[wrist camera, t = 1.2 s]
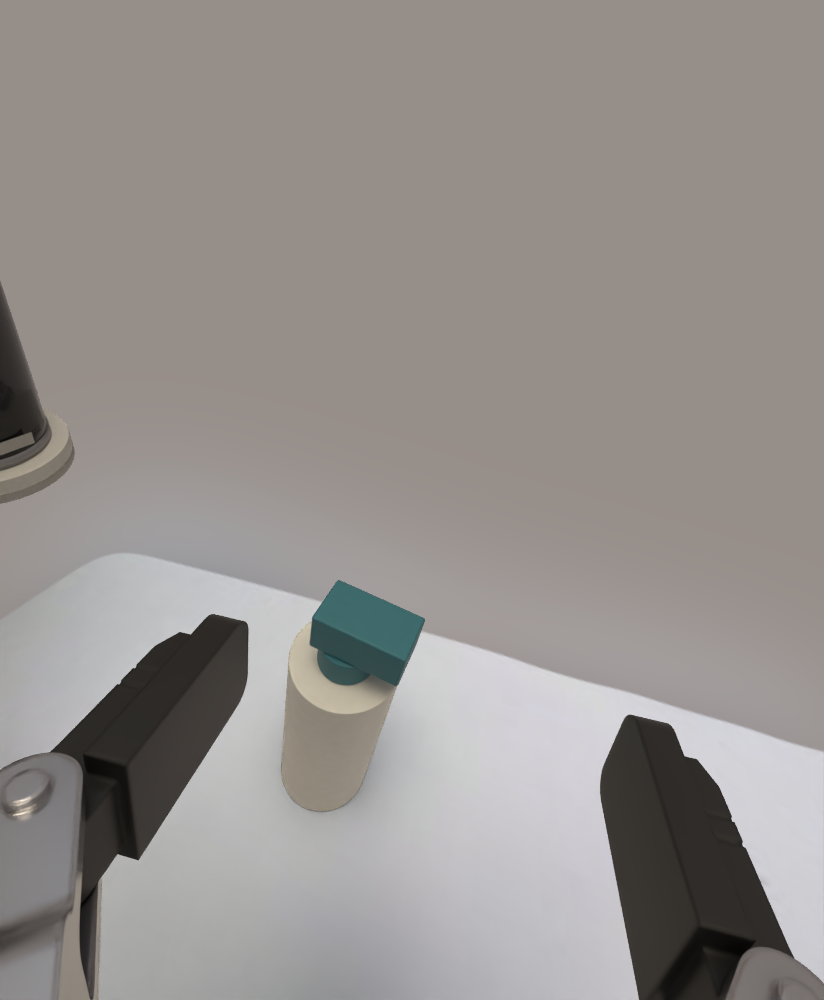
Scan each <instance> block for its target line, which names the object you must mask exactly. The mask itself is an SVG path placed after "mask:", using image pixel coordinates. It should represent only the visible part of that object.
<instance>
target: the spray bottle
mask: <svg viewBox="0 0 824 1000" xmlns="http://www.w3.org/2000/svg"><path fill="white" fill-rule="evenodd" d="M424 622H425V619H424V618H422V617H420V616H418V615H415V614H413V613H411V612H409V611H407V610H405V609H402V608H400V607H398V606H396V605H393V604H391V603H389V602H387V601H385V600H382V599H380V598H378V597H375V596H373V595H371V594H369V593H367V592H364V591H362V590H360V589H358V588H356V587H353V586H351V585H349V584H347V583H345V582H342V581H340V580H338V581H337V582H336V583H335V585H334V586H333V588H332V589H331V591H330V592H329V594H328V595H327V596H326V598H325V600H324V601H323V602H322V604H321V605H320V607H319V608H318V610H317V611H316V613H315V614H314V616H313V617H312V621H311V622H310V623H308V624H307V625H306V626H305V627H304V628H303V629H302V630H301V631H300V632H299V633H298V635H297V636H296V638H295V640H294V641H293V644H292V646H291V649H290V653H289V661H288V676H287V691H286V706H285V721H284V736H283V751H282V766H281V772H282V780H283V783H284V786H285V788H286V790H287V792H288V794H289V795H290V797H291V798H292V799H293V800H294V801H295V802H296V803H298V804H299V805H301V806H302V807H304V808H306V809H309V810H313V811H319V812H321V811H330V810H334V809H337V808H339V807H341V806H343V805H344V804H346V803H347V802H349V801H350V800H351V799H352V798H353V797H354V796H355V794H356V793H357V792H358V790H359V789H360V787H361V785H362V783H363V780H364V777H365V774H366V771H367V769H368V766H369V763H370V760H371V758H372V755H373V752H374V749H375V746H376V744H377V741H378V738H379V735H380V732H381V730H382V727H383V724H384V721H385V718H386V716H387V713H388V710H389V707H390V704H391V702H392V699H393V696H394V693H395V690H396V688H397V685H398V684H399V682H400V680H401V677H402V675H403V673H404V671H405V668H406V666H407V664H408V662H409V660H410V657H411V655H412V653H413V651H414V648H415V646H416V643H417V641H418V638H419V635H420V633H421V630H422V627H423V624H424Z"/></svg>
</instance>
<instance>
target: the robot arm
mask: <svg viewBox="0 0 824 1000" xmlns="http://www.w3.org/2000/svg"><path fill="white" fill-rule="evenodd" d="M51 436H52V432H51V428H50V425H49V422H48V419H47V418H46V416H45V415H44V412H43V409H42V406H41V403H40V400H39V397H38V393H37V390H36V387H35V384H34V381H33V378H32V375H31V372H30V369H29V366H28V363H27V360H26V357H25V354H24V351H23V348H22V345H21V342H20V339H19V336H18V333H17V330H16V327H15V324H14V321H13V318H12V315H11V312H10V309H9V306H8V303H7V300H6V297H5V294H4V291H3V288H2V285H1V282H0V471H1V470H5V469H8V468H11V467H14V466H17V465H19V464H22V463H24V462H26V461H28V460H30V459H32V458H33V457H35V456H36V455H38V454H39V453H40V452H42V451H43V450H44V449H45V448H46V446H47V445H48V444H49V442H50V440H51ZM247 676H248V625H247V623H246V622H245V621H240V620H236V619H232V618H228V617H224V616H219V615H215V614H211V615H209V616H208V617H207V618H206V619H205V620H204V621H203V622H202V623H201V624H200V625H199V626H198V627H197V628H196V629H195V631H194V632H193V633H192V634H191V635H190V634H185V633H181V632H179V633H177V634H176V635H174V636H172V637H170V638H168V639H167V640H165V641H163V642H161V643H159V644H158V645H156V646H155V647H154V648H153V649H152V650H151V651H150V652H149V653H148V654H147V655H146V656H145V657H144V658H143V659H142V660H141V661H140V662H139V663H138V664H137V666H136V668H135V669H134V668H133V669H132V670H131V671H130V672H129V673H128V674H127V675H126V676H125V677H124V678H123V679H122V680H121V683H120V685H119V684H117V685H116V686H115V687H114V688H113V689H112V690H111V691H110V692H109V693H108V694H107V695H106V696H105V697H104V698H103V699H102V700H101V701H100V702H99V704H98V705H97V706H96V707H95V708H94V709H93V710H92V711H91V712H90V713H89V714H88V715H87V716H86V717H85V718H84V719H83V720H82V721H81V722H80V723H79V724H78V725H77V726H76V727H75V728H74V729H73V730H72V731H71V732H70V733H69V734H68V735H67V736H66V737H65V738H64V739H63V740H62V741H61V742H60V743H59V744H58V745H57V746H56V747H55V748H54V749H53V750H52V751H51V752H49V753H41V754H36V755H32V756H29V757H25V758H23V759H20V760H18V761H15V762H13V763H11V764H10V765H8V766H6V767H4V768H3V769H1V770H0V1000H98V994H99V961H100V927H101V893H102V879H101V877H102V876H103V874H104V873H105V871H106V870H107V868H108V867H109V865H110V864H111V862H112V861H113V860H114V858H115V857H116V855H117V854H119V855H123V856H126V857H129V858H133V859H136V860H139V859H140V857H141V855H142V854H143V852H144V851H145V849H146V848H147V846H148V845H149V843H150V841H151V840H152V838H153V837H154V835H155V834H156V832H157V831H158V829H159V827H160V826H161V824H162V823H163V821H164V820H165V818H166V817H167V815H168V813H169V812H170V810H171V809H172V807H173V806H174V804H175V802H176V801H177V799H178V798H179V796H180V795H181V793H182V792H183V790H184V788H185V787H186V785H187V784H188V782H189V781H190V779H191V778H192V776H193V774H194V773H195V771H196V770H197V768H198V767H199V765H200V764H201V762H202V760H203V759H204V757H205V756H206V754H207V753H208V751H209V749H210V748H211V746H212V745H213V743H214V742H215V740H216V739H217V737H218V735H219V734H220V732H221V731H222V729H223V728H224V726H225V725H226V723H227V721H228V720H229V718H230V717H231V715H232V714H233V712H234V711H235V709H236V707H237V706H238V704H239V702H240V700H241V698H242V695H243V693H244V690H245V686H246V682H247ZM600 795H601V803H602V808H603V813H604V818H605V823H606V829H607V834H608V839H609V844H610V850H611V855H612V860H613V865H614V870H615V876H616V881H617V886H618V891H619V896H620V902H621V907H622V912H623V917H624V922H625V928H626V933H627V938H628V943H629V948H630V954H631V959H632V964H633V969H634V975H635V980H636V985H637V990H638V995H639V1000H824V983H823V982H822V981H821V980H820V979H819V978H818V977H817V976H816V975H815V974H813V973H812V972H811V971H810V970H809V969H808V968H806V967H805V966H804V965H803V964H801V963H800V962H799V961H797V960H795V959H794V957H793V955H792V953H791V951H790V949H789V946H788V944H787V942H786V940H785V937H784V935H783V933H782V930H781V928H780V926H779V923H778V921H777V919H776V917H775V914H774V912H773V910H772V907H771V905H770V903H769V901H768V898H767V896H766V894H765V891H764V889H763V887H762V884H761V882H760V880H759V878H758V875H757V873H756V871H755V868H754V866H753V864H752V861H751V859H750V857H749V855H748V852H747V850H746V848H744V847H743V846H742V842H743V841H742V838H741V836H740V834H739V832H738V829H737V827H736V825H735V822H732V820H731V817H732V816H731V813H730V811H729V809H728V806H727V804H726V802H725V799H724V797H723V795H722V793H721V790H720V788H719V786H718V785H717V784H716V783H715V781H714V780H713V779H712V778H711V776H710V775H709V774H708V773H707V771H706V770H705V769H704V768H703V766H702V765H701V764H700V763H699V761H698V760H697V759H693V758H689V757H685V756H684V754H683V751H682V749H681V746H680V744H679V741H678V739H677V736H676V733H675V731H674V729H673V728H672V726H671V725H670V724H668V723H663V722H659V721H655V720H651V719H647V718H642V717H638V716H634V715H628V716H626V717H625V719H624V721H623V723H622V725H621V727H620V729H619V732H618V734H617V736H616V738H615V741H614V743H613V745H612V748H611V750H610V752H609V754H608V757H607V759H606V761H605V763H604V766H603V769H602V774H601V781H600Z"/></svg>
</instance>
